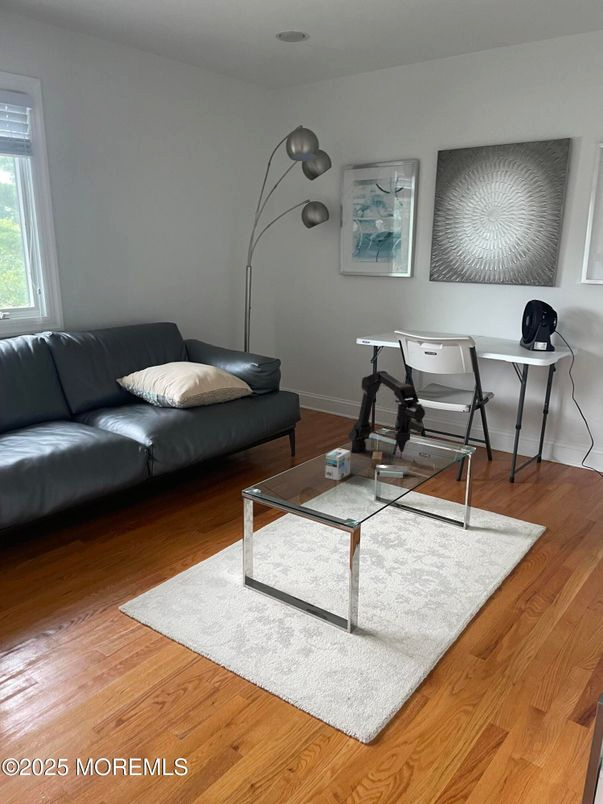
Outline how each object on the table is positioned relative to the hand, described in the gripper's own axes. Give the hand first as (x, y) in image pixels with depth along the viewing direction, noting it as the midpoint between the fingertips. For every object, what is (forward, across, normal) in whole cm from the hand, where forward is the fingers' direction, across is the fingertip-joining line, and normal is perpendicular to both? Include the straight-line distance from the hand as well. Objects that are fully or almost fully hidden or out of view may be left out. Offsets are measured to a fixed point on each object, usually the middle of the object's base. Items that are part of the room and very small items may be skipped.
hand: (402, 448), depth 267 cm
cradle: (+12, -2, +4) cm, 12 cm away
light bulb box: (+12, -8, +27) cm, 31 cm away
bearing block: (+12, +8, +11) cm, 18 cm away
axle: (+11, -1, +4) cm, 12 cm away
